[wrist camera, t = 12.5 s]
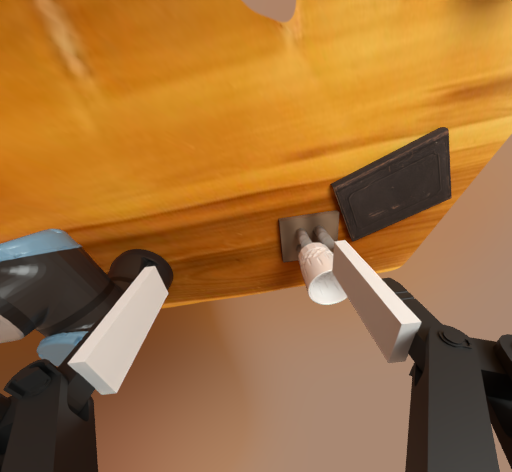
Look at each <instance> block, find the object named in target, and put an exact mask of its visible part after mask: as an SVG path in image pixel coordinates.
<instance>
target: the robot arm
mask: <svg viewBox="0 0 512 472" xmlns="http://www.w3.org/2000/svg"><path fill="white" fill-rule="evenodd" d="M332 273H333V274H334V276H335V277H336V279H337V281H338V282H339V284H340V286H341V287H342V289H343V290H344V292H345V294H346V295H347V297H348V298H349V300H350V302H351V303H352V305H353V307H354V308H355V310H356V311H357V313H358V315H359V316H360V318H361V319H362V321H363V323H364V324H365V326H366V327H367V329H368V331H369V332H370V334H371V336H372V337H373V339H374V340H375V342H376V344H377V345H378V347H379V349H380V350H381V352H382V353H383V355H384V357H385V358H386V360H387V362H388V363H393V362H402V361H405V360H406V358H407V356H408V354H409V355H410V356H411V358H412V359H413V360H414V362H415V363H414V365H413V367H412V369H411V371H410V374H409V375H411V376H412V389H411V403H410V416H409V430H408V445H407V457H406V471H405V472H500V470H499V465H498V460H497V454H496V449H495V444H494V438H493V433H492V428H491V424H492V426H493V429H494V431H495V433H496V435H497V438H498V440H499V442H500V444H501V446H502V449H503V451H504V453H505V455H506V458H507V460H508V462H509V464H510V466H511V469H512V335H508V334H507V335H503V336H501V337H500V338H499V340H498V341H497V342H494V341H488V340H482V339H476V338H470V337H468V336H467V335H465V334H464V333H463V332H461V331H460V330H457V329H455V328H453V327H450V326H446V325H443V324H441V323H440V322H439V321H438V320H437V319H436V318H435V317H434V316H433V315H432V314H431V313H430V312H429V311H428V310H427V309H426V308H425V307H424V306H423V305H422V304H420V302H418V301H417V300H416V299H414V297H413V296H412V295H411V294H410V293H409V292H408V291H407V290H406V289H405V288H404V287H403V286H402V285H401V284H400V283H398V282H396V281H395V280H393V279H391V278H384V279H381V278H380V277H379V276H378V275H377V274H376V273H375V272H374V271H373V269H372V268H371V267H370V266H369V265H368V264H367V263H366V262H365V261H364V260H363V259H362V258H361V257H360V256H359V255H358V253H357V252H356V251H355V250H354V249H353V248H352V247H351V246H350V245H349V244H348V243H347V242H346V241H345V240H343V241H336V242H334V253H333V268H332ZM172 280H173V272H172V269H171V267H170V266H169V264H168V263H167V262H166V261H165V260H164V259H163V258H162V257H160V256H159V255H157V254H155V253H153V252H150V251H147V250H141V249H133V250H128V251H126V252H124V253H122V254H121V255H119V256H118V257H117V258H116V259H115V260H114V261H113V263H112V265H111V267H110V271H109V272H108V274H106V273H105V272H104V271H103V270H102V269H101V268H100V267H99V266H98V265H97V264H96V263H95V261H94V260H93V259H92V258H91V257H90V256H89V255H88V254H87V253H86V251H85V250H84V249H83V248H82V246H81V245H79V244H78V243H77V242H75V241H74V240H73V239H72V238H71V237H70V236H69V235H68V234H67V233H66V232H64V231H62V230H59V229H47V230H43V231H40V232H37V233H33V234H30V235H27V236H24V237H21V238H17V239H14V240H11V241H8V242H5V243H2V244H0V343H4V342H10V341H14V340H20V339H22V338H23V337H25V336H26V335H28V334H29V333H30V332H31V331H32V330H34V329H36V330H37V331H39V332H40V333H42V334H43V335H44V336H45V337H46V338H44V339H43V340H42V341H41V342H40V344H39V346H38V348H37V353H39V357H40V358H41V360H37V361H35V362H33V363H31V364H29V365H28V366H26V367H25V368H23V369H22V370H20V371H19V372H18V373H17V374H16V375H15V376H13V377H12V379H11V380H10V381H9V382H8V383H7V385H6V386H5V388H4V391H6V392H8V393H9V394H11V395H12V396H10V397H8V398H7V397H5V396H4V395H2V394H0V472H98V464H97V448H96V433H95V418H94V402H93V399H92V397H91V394H92V393H93V391H94V390H95V389H96V390H97V391H98V392H99V393H100V394H101V395H103V394H113V393H117V391H118V389H119V387H120V385H121V384H122V381H123V380H124V378H125V376H126V374H127V372H128V370H129V368H130V366H131V364H132V362H133V360H134V359H135V357H136V354H137V353H138V351H139V349H140V347H141V345H142V343H143V341H144V339H145V337H146V335H147V333H148V332H149V330H150V328H151V326H152V324H153V322H154V320H155V318H156V316H157V314H158V312H159V310H160V308H161V307H162V305H163V303H164V301H165V299H166V297H167V295H168V291H167V290H168V289H169V287H170V285H171V283H172ZM56 366H58V368H57V367H56Z"/></svg>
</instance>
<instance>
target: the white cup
mask: <svg viewBox="0 0 512 472" xmlns="http://www.w3.org/2000/svg"><path fill="white" fill-rule="evenodd" d="M298 258H299V264H300V268H301V271H302V275H303V278H304V281H305V285H306V288H307V291H308V294H309V297H310V298H311V299H312V300H313V301H314V302H316V303H318V304H322V305H331V304H336V303H338V302H341V301H343V300H344V299H346V298H347V295H346V294H345V292H344V290H343V289H342V287H341V286H340V284H339V282H338V281H337V279H336V277H335V276H334V274H333V273H332V268H333V253H332V252H331V251H330V250H329V249H328V247H327V246H326V245H324V244H322V243H310V244H308V245H306V246H305V247H303V248H302V249H301V251H300V253H299V255H298Z"/></svg>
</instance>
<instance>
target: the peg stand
mask: <svg viewBox="0 0 512 472" xmlns="http://www.w3.org/2000/svg"><path fill="white" fill-rule="evenodd" d="M338 224H339V212H338V211H337V210H335V211H328V212H322V213H315V214H308V215H301V216H294V217H288V218H281V219H279V228H280V238H281V248H282V259H283V262H290V261H297V260H299V258H298V255H299V253H300V251H301V249H302V248H303V247H305V246H306V245H308V244H310V243H322V244H324V245H326V246H327V247H328V249H329V250H330V251H331V252H332V253H334V242H336V241H337V239H338Z"/></svg>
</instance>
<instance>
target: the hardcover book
mask: <svg viewBox="0 0 512 472" xmlns="http://www.w3.org/2000/svg"><path fill="white" fill-rule="evenodd" d="M331 185H332V186H333V189H334V192H335V195H336V198H337V201H338V204H339V206H340V209H341V212H342V215H343V218H344V221H345V224H346V227H347V229H348V232H349V235H350V237H351V239H352V242H353V241H355V240H358V239H360V238H362V237H364V236H367V235H369V234H371V233H373V232H376V231H378V230H380V229H382V228H385V227H387V226H389V225H392V224H394V223H396V222H398V221H401V220H403V219H405V218H407V217H410V216H412V215H414V214H416V213H419V212H421V211H423V210H426V209H428V208H430V207H432V206H435V205H437V204H439V203H441V202H444V201H446V200H448V199H450V198H451V177H450V155H449V132H448V129H447V128H446V127H441V128H438V129H436V130H435V131H433V132H431V133H429V134H427V135H425V136H423V137H421V138H419V139H417V140H415V141H413V142H411V143H409V144H407V145H405V146H404V147H402V148H400V149H398V150H396V151H394V152H392V153H390V154H388V155H386V156H384V157H382V158H380V159H378V160H376V161H374V162H373V163H371V164H369V165H367V166H365V167H363V168H361V169H359V170H357V171H355V172H353V173H351V174H349V175H347V176H345V177H343V178H342V179H340V180H338V181H336V182H334V183H332V184H331Z"/></svg>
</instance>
